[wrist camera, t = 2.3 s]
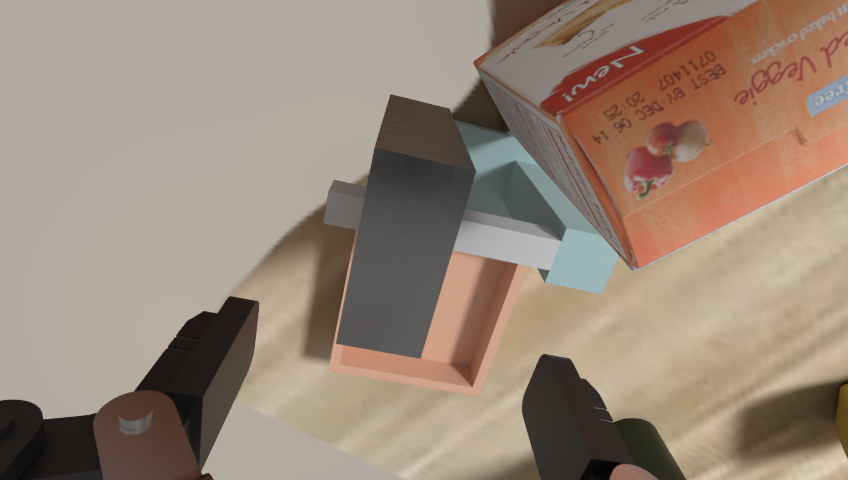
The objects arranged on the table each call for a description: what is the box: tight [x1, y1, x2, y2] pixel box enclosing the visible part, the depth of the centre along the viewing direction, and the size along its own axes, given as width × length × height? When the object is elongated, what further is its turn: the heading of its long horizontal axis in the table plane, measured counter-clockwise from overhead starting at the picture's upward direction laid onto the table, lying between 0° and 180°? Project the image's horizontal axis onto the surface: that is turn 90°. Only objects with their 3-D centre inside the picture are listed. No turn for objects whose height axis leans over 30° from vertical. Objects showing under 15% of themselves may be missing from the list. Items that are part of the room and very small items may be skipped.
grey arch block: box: [336, 95, 476, 359], centre depth 24 cm, size 8×4×13 cm, turn 166°
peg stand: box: [324, 120, 619, 294], centre depth 28 cm, size 6×14×13 cm, turn 76°
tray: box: [328, 230, 529, 396], centre depth 37 cm, size 14×13×3 cm
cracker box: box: [474, 0, 848, 271], centre depth 21 cm, size 14×6×21 cm, turn 122°
